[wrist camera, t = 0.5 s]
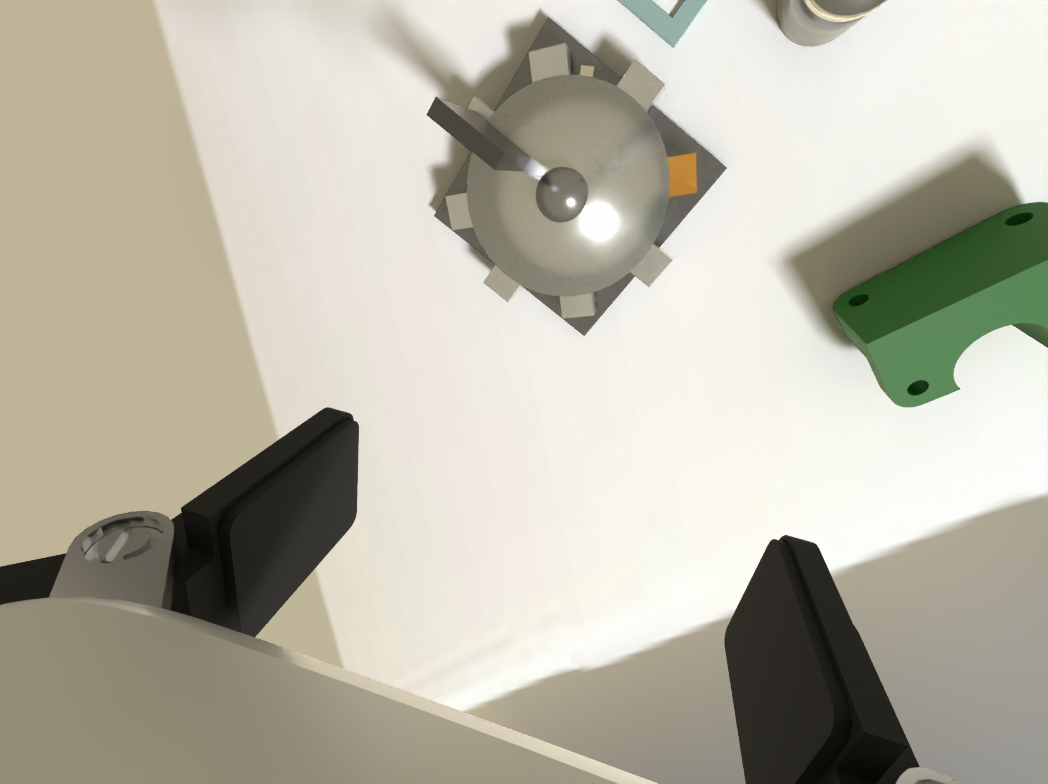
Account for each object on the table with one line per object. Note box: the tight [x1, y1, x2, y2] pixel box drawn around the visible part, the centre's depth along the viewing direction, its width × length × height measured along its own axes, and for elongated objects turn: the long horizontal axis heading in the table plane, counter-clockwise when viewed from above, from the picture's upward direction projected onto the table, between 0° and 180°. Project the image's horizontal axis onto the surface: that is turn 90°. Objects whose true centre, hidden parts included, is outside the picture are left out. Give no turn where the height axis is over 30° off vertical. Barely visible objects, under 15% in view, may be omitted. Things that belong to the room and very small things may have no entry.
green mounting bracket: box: [833, 202, 1048, 407], centre depth 29 cm, size 12×6×9 cm, turn 120°
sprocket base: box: [434, 17, 727, 336], centre depth 33 cm, size 14×14×1 cm
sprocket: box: [427, 43, 697, 319], centre depth 29 cm, size 16×16×8 cm
